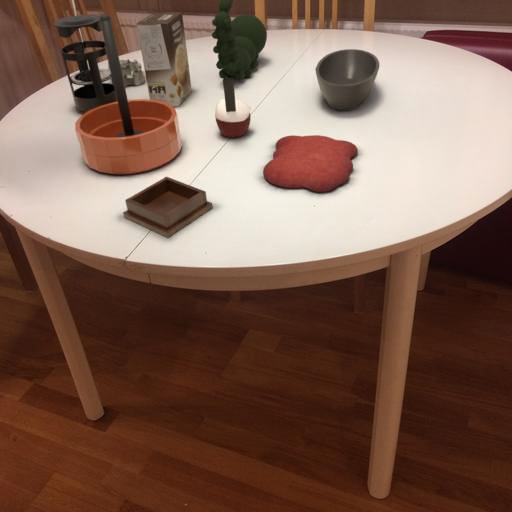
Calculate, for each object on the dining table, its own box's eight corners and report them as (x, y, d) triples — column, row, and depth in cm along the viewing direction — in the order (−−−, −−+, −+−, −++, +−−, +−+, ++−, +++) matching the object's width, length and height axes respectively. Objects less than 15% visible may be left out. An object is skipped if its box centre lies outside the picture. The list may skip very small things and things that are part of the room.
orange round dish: (128, 186, 82) (119, 148, 78) (65, 160, 90) (54, 124, 86) (201, 146, 92) (196, 111, 88) (138, 126, 100) (131, 92, 96)
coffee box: (179, 107, 107) (167, 23, 97) (150, 106, 108) (135, 23, 98) (192, 90, 114) (182, 11, 104) (165, 90, 115) (152, 11, 105)
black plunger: (131, 161, 87) (100, 20, 74) (108, 152, 90) (74, 16, 77) (157, 147, 91) (132, 11, 78) (134, 139, 94) (107, 7, 81)
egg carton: (145, 85, 119) (142, 66, 116) (112, 89, 117) (108, 71, 115) (141, 70, 127) (138, 53, 124) (110, 74, 126) (106, 57, 123)
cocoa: (228, 122, 99) (222, 58, 92) (259, 126, 97) (255, 60, 90) (206, 144, 92) (198, 76, 85) (238, 148, 90) (233, 78, 83)
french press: (128, 108, 108) (102, -16, 94) (83, 119, 104) (49, -8, 90) (111, 92, 116) (85, -24, 102) (68, 102, 112) (35, -17, 98)
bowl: (308, 117, 99) (308, 84, 95) (323, 77, 116) (324, 48, 112) (373, 120, 97) (376, 87, 93) (379, 79, 113) (381, 49, 110)
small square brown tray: (167, 237, 70) (164, 220, 68) (124, 217, 75) (119, 200, 73) (212, 207, 75) (210, 190, 74) (169, 190, 80) (166, 174, 78)
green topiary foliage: (249, 96, 114) (275, 51, 131) (240, 4, 101) (270, -32, 119) (208, 94, 116) (239, 50, 134) (195, 4, 103) (231, -32, 121)
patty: (280, 138, 93) (280, 127, 91) (360, 143, 89) (361, 132, 88) (254, 187, 79) (253, 176, 78) (346, 196, 76) (347, 184, 75)
